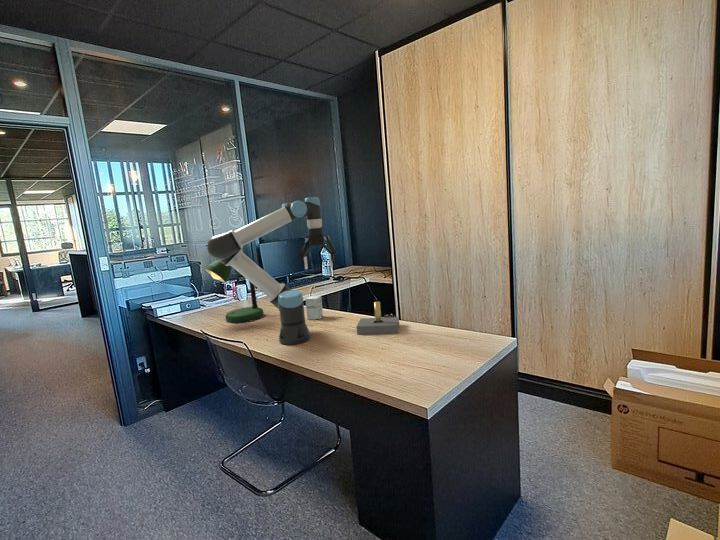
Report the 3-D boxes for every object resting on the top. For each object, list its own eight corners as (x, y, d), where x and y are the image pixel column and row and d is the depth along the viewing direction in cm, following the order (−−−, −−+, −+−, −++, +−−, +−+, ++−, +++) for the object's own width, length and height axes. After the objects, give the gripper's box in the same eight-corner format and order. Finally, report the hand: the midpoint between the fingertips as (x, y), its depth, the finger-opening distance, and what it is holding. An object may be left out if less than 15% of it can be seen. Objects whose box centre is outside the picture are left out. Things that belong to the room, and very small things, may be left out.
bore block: (398, 333, 180) (397, 325, 179) (357, 334, 183) (356, 326, 182) (399, 324, 193) (398, 317, 193) (361, 325, 196) (360, 318, 196)
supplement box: (306, 319, 217) (304, 298, 215) (312, 316, 224) (310, 295, 222) (318, 319, 215) (316, 298, 213) (323, 316, 222) (321, 295, 220)
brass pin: (381, 330, 186) (379, 302, 184) (375, 330, 187) (373, 303, 185) (382, 328, 189) (380, 301, 187) (376, 328, 190) (374, 301, 188)
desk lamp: (221, 328, 213) (210, 250, 206) (207, 322, 230) (196, 249, 223) (270, 316, 233) (261, 244, 226) (253, 311, 250) (245, 244, 243)
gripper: (340, 225, 195) (343, 265, 198) (294, 229, 198) (298, 268, 201) (337, 226, 187) (340, 267, 190) (289, 229, 191) (293, 270, 194)
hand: (318, 268), depth 196 cm, fingers open, 13 cm apart
